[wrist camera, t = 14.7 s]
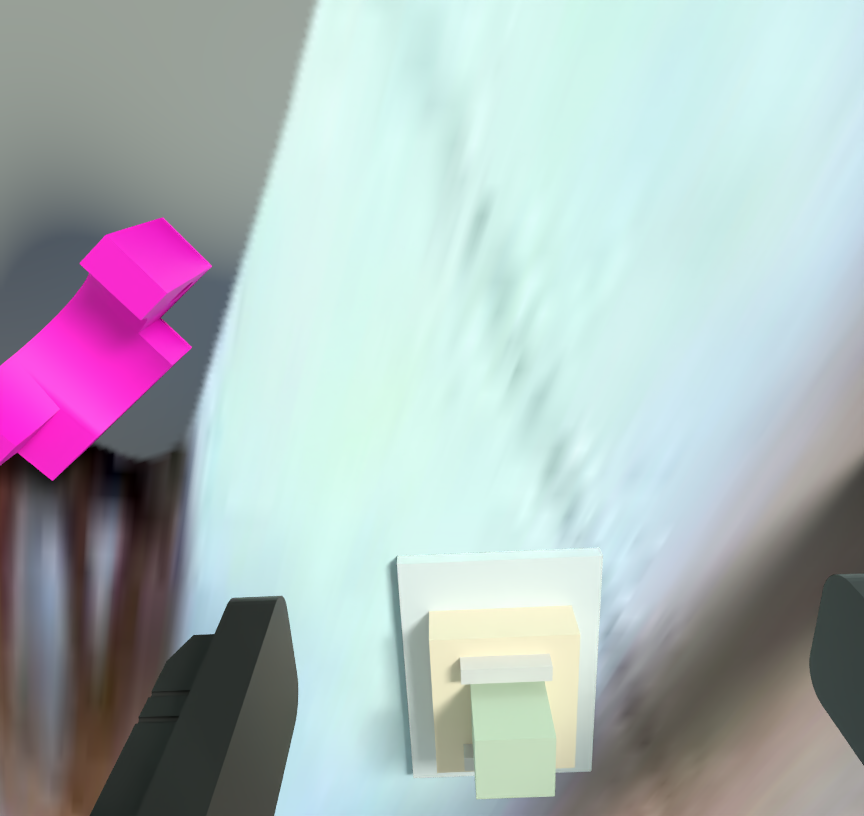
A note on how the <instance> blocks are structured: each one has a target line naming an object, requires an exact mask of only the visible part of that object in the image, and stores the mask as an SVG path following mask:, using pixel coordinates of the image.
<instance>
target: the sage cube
mask: <svg viewBox="0 0 864 816" xmlns="http://www.w3.org/2000/svg"><path fill="white" fill-rule="evenodd" d="M470 694H471V723H472V743H473V757H474V771H475V785H476V799H496V798H523V797H549V796H555V771H556V733H555V729H554V724H553V719H552V714H551V710H550V705H549V700H548V696H547V691H546V686H545V681H538V682H513V683H488V684H470Z"/></svg>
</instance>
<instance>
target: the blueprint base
mask: <svg viewBox="0 0 864 816" xmlns="http://www.w3.org/2000/svg"><path fill="white" fill-rule="evenodd" d="M602 563H603V555H602V552H601V550H600V547H598V548H574V549H550V550H526V551H503V552H479V553H455V554H431V555H408V556H397V573H398V586H399V598H400V611H401V624H402V637H403V650H404V662H405V675H406V688H407V701H408V714H409V726H410V739H411V752H412V765H413V778H430V777H456V776H475V771H474V757H473V743H472V723H471V694H470V684H488V683H513V682H538V681H545V686H546V691H547V696H548V700H549V705H550V710H551V714H552V719H553V724H554V729H555V733H556V771H555V773H562V772H589V771H591V768H592V749H593V731H594V712H595V693H596V675H597V656H598V638H599V619H600V600H601V582H602Z"/></svg>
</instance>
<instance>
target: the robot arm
mask: <svg viewBox="0 0 864 816" xmlns="http://www.w3.org/2000/svg"><path fill="white" fill-rule="evenodd" d="M809 666H810V675H811V680H812V684H813V687H814V690H815V692H816V695H817V697H818V699H819V701H820V702H821V704H822V706H823V707H824V709H825V710H826V711H827V713H828V714H829V716H830V717H831V719H832V720H833V722H834V723H835V725H836V726H837V727H838V729H839V730H840V732H841V733H842V735H843V736H844V738H845V739H846V740H847V742H848V743H849V745H850V746H851V748H852V749H853V751H854V752H855V754H856V755H857V756H858V758H859V759H860V761H861V762H862V764H863V765H864V573H862V574H837V575H832V576H830V577H829V578H828V579H827V580H826V582H825V584H824V588H823V592H822V597H821V602H820V608H819V613H818V618H817V623H816V628H815V633H814V638H813V643H812V648H811V653H810V660H809ZM297 706H298V678H297V671H296V664H295V657H294V651H293V644H292V638H291V631H290V625H289V618H288V612H287V606H286V602H285V599H284V598H283V597H282V596H268V597H243V598H232V599H231V600H230V601H229V602H228V604H227V606H226V609H225V611H224V613H223V616H222V618H221V620H220V623H219V625H218V627H217V630H216V632H215V634H208V635H193V636H192V637H191V638H190V639H189V640H188V641H187V642H186V643H185V644H184V645H183V646H182V647H181V648H180V649H179V650H178V651H177V652H176V653H175V654H174V655H173V656H172V657H171V658H170V659H169V660H167V662H166V664H165V666H164V668H163V670H162V672H161V674H160V676H159V678H158V680H157V682H156V684H155V686H154V688H153V690H152V696H151V698H148V700H147V702H146V704H145V706H144V708H143V710H142V712H141V714H140V716H139V722H138V724H135V726H134V728H133V730H132V732H131V734H130V736H129V738H128V740H127V742H126V744H125V746H124V748H123V750H122V752H121V754H120V756H119V758H118V760H117V762H116V764H115V766H114V768H113V770H112V772H111V774H110V776H109V778H108V780H107V782H106V784H105V786H104V788H103V790H102V792H101V794H100V796H99V798H98V800H97V802H96V804H95V806H94V808H93V810H92V812H91V814H90V816H274V814H275V809H276V805H277V801H278V796H279V792H280V787H281V783H282V779H283V774H284V770H285V765H286V761H287V757H288V752H289V748H290V744H291V739H292V735H293V730H294V726H295V721H296V715H297Z"/></svg>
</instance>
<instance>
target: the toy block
mask: <svg viewBox="0 0 864 816" xmlns="http://www.w3.org/2000/svg"><path fill="white" fill-rule="evenodd" d="M80 265H82V267H84V268H85V269H86V270H87V271H88V272H89V275H88V277H87V279H86V280H85V282H84V284H83V285H82V287H81V288H80V289H79V291H78V292H77V293H76V294H75V296H74V297H73V298H72V299H71V301H70V302H69V303H68V304H67V305H66V306H65V307H64V308H63V309H62V310H61V311H60V313H59V314H58V315H57V316H56V317H55V318H54V319H53V320H52V321H51V322H50V323H49V324H48V325H47V326H46V327H45V328H43V329H42V330H41V331H40V332H39V333H38V334H37V335H36V336H35V337H34V338H33V339H32V340H30V341H29V342H28V343H27V344H26V345H25V346H24V347H23V348H21V349H20V350H19V351H18V352H17V353H16V354H14V355H13V356H12V357H11V358H9V359H8V360H7V361H6V362H4V363H3V364H2V365H1V366H0V465H2V464H3V463H4V462H5V461H7V460H8V459H9V458H11V457H12V456H13V455H15V454H16V453H18V454H20V455H21V456H22V457H23V458H25V459H26V460H27V461H28V462H30V463H31V464H32V465H33V466H35V467H36V468H37V469H38V470H39V471H41V472H42V473H43V474H44V475H46V476H47V477H48V478H49V479H51V480H52V481H53V480H54V479H55V478H56V477H57V476H58V475H59V474H61V473H62V472H63V471H64V470H65V469H66V468H67V467H68V466H69V465H70V464H71V463H73V462H74V461H75V460H76V459H77V458H78V457H79V456H80V455H81V454H82V453H83V452H84V451H86V450H87V449H88V448H89V447H90V446H91V445H92V444H93V443H94V442H95V441H96V440H97V439H98V438H99V437H100V436H101V435H102V434H103V433H104V432H105V431H106V430H107V429H108V428H109V427H110V426H111V425H112V424H114V423H115V422H116V420H118V418H120V417H121V416H122V415H123V414H124V413H125V412H126V411H127V410H128V409H129V408H130V407H131V406H132V405H133V404H134V403H135V402H136V401H137V400H138V399H139V398H140V397H141V396H142V395H144V394H145V393H146V392H147V391H148V390H149V389H150V388H151V387H152V386H153V385H154V384H155V383H156V382H157V381H158V380H159V379H160V378H161V377H162V376H163V375H164V374H165V373H166V372H167V371H168V370H169V369H170V368H171V367H172V366H173V365H175V363H177V362H178V361H179V360H180V359H181V358H182V357H183V356H184V355H185V354H186V353H187V352H188V351H189V350H190V349H191V348H192V347H191V346H190V345H189V344H188V343H187V342H186V341H185V340H184V339H183V338H182V337H181V336H180V335H179V334H178V333H176V332H175V331H174V330H173V329H172V328H171V327H170V326H169V325H168V324H167V323H166V322H165V321H164V320H163V319H162V318H161V317H162V316H163V315H164V314H165V313H166V312H167V311H168V310H169V309H170V308H171V307H172V306H173V305H174V304H175V303H176V302H177V301H178V300H179V299H180V298H181V297H182V296H183V295H184V294H185V293H186V292H187V291H188V290H189V289H190V288H191V287H192V286H193V285H194V284H195V283H196V282H197V281H198V280H199V279H200V278H201V277H202V276H203V275H204V274H205V273H206V272H207V271H208V270H209V269H210V268H211V267H212V265H211V264H210V263H209V262H208V261H206V259H204V258H203V256H202V255H201V254H200V253H199V252H197V250H196V249H194V247H192V245H190V243H189V242H187V241H186V240H185V239H184V238H183V237H182V236H181V235H180V234H179V233H178V232H177V231H176V230H175V229H174V228H173V227H172V226H171V225H170V224H169V223H168V222H167V221H166V220H165V219H164V218H163V217H162V218H159V219H156V220H152V221H149V222H146V223H143V224H140V225H136V226H133V227H130V228H127V229H123V230H120V231H117V232H114V233H111V234H107V235H105V236H104V237H103V239H102V240H101V241H100V242H99V243H98V244H97V245H96V246H95V247H94V248H93V249H92V250H91V251H90V253H89V254H88V255H87V256H86V257H85V258H84V259H83V260H82V261H81V262H80Z"/></svg>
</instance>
